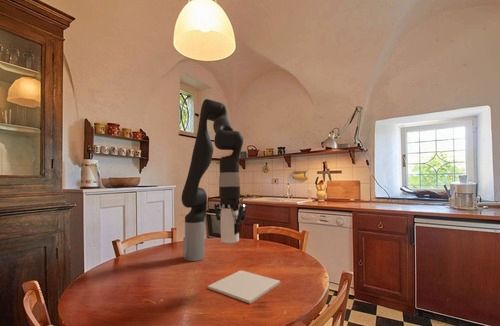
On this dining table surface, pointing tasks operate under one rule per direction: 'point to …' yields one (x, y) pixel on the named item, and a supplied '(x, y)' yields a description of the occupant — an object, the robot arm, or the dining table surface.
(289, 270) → the dining table surface
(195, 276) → the dining table surface
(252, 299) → the tile mat
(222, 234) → the can
